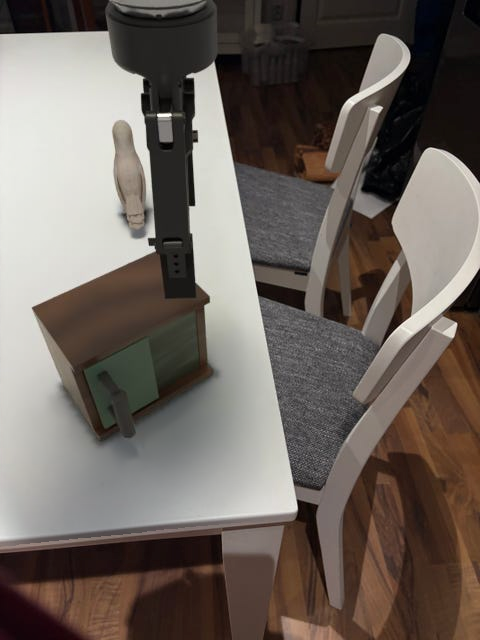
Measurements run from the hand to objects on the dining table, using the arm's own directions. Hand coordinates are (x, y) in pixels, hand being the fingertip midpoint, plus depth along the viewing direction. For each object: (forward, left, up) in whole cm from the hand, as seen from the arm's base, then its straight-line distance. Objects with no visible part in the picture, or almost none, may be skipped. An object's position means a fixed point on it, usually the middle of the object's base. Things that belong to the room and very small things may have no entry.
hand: (181, 246), depth 51 cm
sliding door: (+1, -9, -20) cm, 22 cm away
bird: (-32, +17, -22) cm, 42 cm away
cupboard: (-5, -5, -21) cm, 23 cm away
